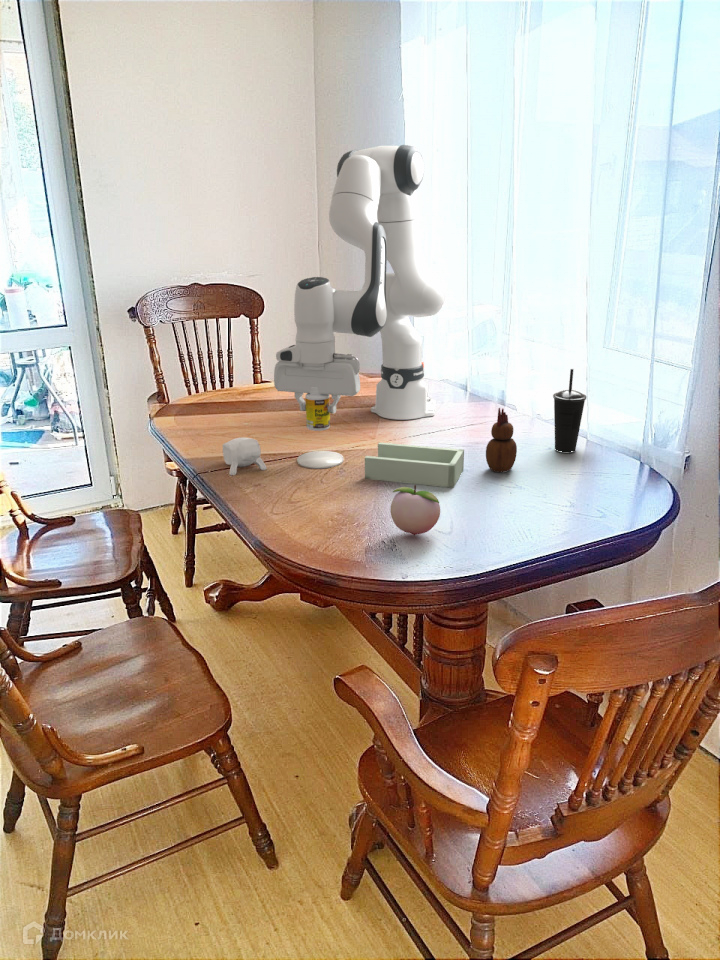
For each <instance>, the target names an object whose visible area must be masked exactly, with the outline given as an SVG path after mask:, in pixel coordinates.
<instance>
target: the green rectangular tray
mask: <svg viewBox="0 0 720 960" xmlns="http://www.w3.org/2000/svg"><path fill="white" fill-rule="evenodd" d="M464 460H465V449H460V448H451V447H450V448H449V447H437V446H424V445H414V444H413V445H412V444H402V443H401V444H400V443H390V442H378V443H377V456H371V455H365V456H364V479H366V480H375V481H385V482H395V483H401V484H402V483H403V484H404V483H405V484H413V485H424V486H434V487H442V488H452V489H454V488H455V486H456V484H457V483H456V482H458V481H459V479H460V477H461V476H462V474H463V472H464V467H465V466H464V465H465V463H464V462H465V461H464ZM461 473H462V474H461ZM460 475H461V476H460ZM457 480H458V481H457Z"/></svg>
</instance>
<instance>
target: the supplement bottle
mask: <svg viewBox="0 0 720 960" xmlns="http://www.w3.org/2000/svg"><path fill="white" fill-rule="evenodd" d="M305 402H306V411H305V418H306V419H305V421H306V428H307V429H308V430H309V431H313V432H314V431H315V432H317V431H318V432H320V431H321V432H323V431H325V430H328V429H330V427H331V413H328V405H330V404H331V403H330V395H327V394H319V393H318V388H317V387H311V391H310V393H305Z"/></svg>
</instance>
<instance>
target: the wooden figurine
mask: <svg viewBox="0 0 720 960" xmlns="http://www.w3.org/2000/svg"><path fill="white" fill-rule="evenodd" d="M490 432H491V436H492V439H490V440H489V441H488V443H487V445H486V447H485V460H486V464H487V466H488V468H489V469H490V470H491V471H492V472H495V473H506V472H509V471H510V470H511V469H512V468H513V467H514V464H515V462H516V458H517V451H518V450H517V449H518V446H517V443H516V441H515V440H514V438H512V437H513V435H514V426H513V424H512V423H511V422H509V417H508V414H507V412H505V411H504V408H502V409H501V407H499V408H498V409H497V421H496V422H494V423H493V425H492V426H491V431H490Z"/></svg>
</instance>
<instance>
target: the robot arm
mask: <svg viewBox="0 0 720 960" xmlns="http://www.w3.org/2000/svg"><path fill="white" fill-rule="evenodd" d="M424 163H425V162H424V159H423V156H422V154H421V152H420V151H419V150H418V148H417V147H415V146H412V145H408V144H400V145H378V146H373V147H368V148H363V149H353V150H350V151H347V152H345V153H343V155H342V156H341V157H340V159H339V160H338V163H337V167H336V177H337V178H336V181H335V184H334V188H333V192H332V197H331V200H330V206H329V212H328V217H329V219H328V220H329V224H330V226H331V229H332V230H333V232H334V233H335V234H336V235H337V236H338V238H340V239H341V240H343V241H345V242H346V243H348V244H350V245H352V246H354V247H356V248H359V249H361V250H363V252H364V256H365V257H364V259H365V261H364V262H365V263H364V283H363V285H362V289H360V290H344V289H336V288H334V287H332V284H331V281H330V280H329V279H328V278H327V277H323V276H314V277H309V278H303V279H302V280H300V281H298V283H297V284H296V287H295V292H294V304H293V305H294V308H293V309H294V315H293V316H294V322H295V327H296V335H295V344H293V345H290V346H287V347H285V348H282V349H280V350H278V351H277V352H276V353H275V359H276V360H277V362H276V364H275V365H274V370H273V371H274V372H273V384H274V388H275V389H276V390H277V392H288V393H294V399H295V400H296V401H297V403H298V404H299V411H300V412H306V400H305V399H304V397H303V396H304V394H307V393H310V391H311V387H317V388H318V393H319V394H327V395H329V396H331V400H333V402H332V403H330V405H328V413H330V414H335V413H337V404H338V402H339V401H340V399H341V396H343V397H344V396H345V397H354V396H357V394H358V393H360V391H361V379H360V374H359V373H360V360H359V359H358V358H357V357H356V356H355V355H354V354H352V353H351V354H349V353H348V354H344V353H336V338H335V337H336V336H335V334H334V333H337V334H338V333H339V334H349V335H350V334H351V335H356V336H363V337H368V338H371V337H374V336H375V335H377V334H378V333H380V338H381V347H382V348H381V349H382V351H381V352H382V364H381V365H380V366H381V367H380V377H381V380H379V382H377V383H376V389H375V405H373V406H372V407H370V412H371V413H374V414H377V416H379V417H382V418H384V419H390V420H416V419H421V418H425V417H426V418H427V417H433V416H435V413H436V407H437V406H436V404H437V401H436V399H434V398H430V397H429V388H430V387H429V384H428V383H427V381H426V379H425V378H424V377H425V369H424V368H425V363H424V361H423V339H422V335H421V334H420V332H418V330H417V329H415V327H414V326H413V325H412V323H411V320H410V317H413V318H414V317H415V318H424V317H429V316H430V317H431V316H435V315H437V314H438V313H439V312H440V310H441V309H442V307H443V305H444V302H445V297H446V296H445V289H444V286H443V285H442V283H441V281H439V279H438V278H436V276H434V274H433V272H432V271H431V270H430V268H429V266H428V264H427V261H426V259H425V257H424V253H423V249H422V248H423V247H422V242H421V230H420V229H421V228H420V227H421V226H420V213H419V212H420V211H419V203H418V196H417V192H416V191H417V189H418V188H419V187H420V185H421V183H422V181H423V180H424V179H423V178H424V173H425V164H424ZM387 262H388V263H389V264H390V267H391V268H392V271H393V272H387ZM435 406H436V407H435Z"/></svg>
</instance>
